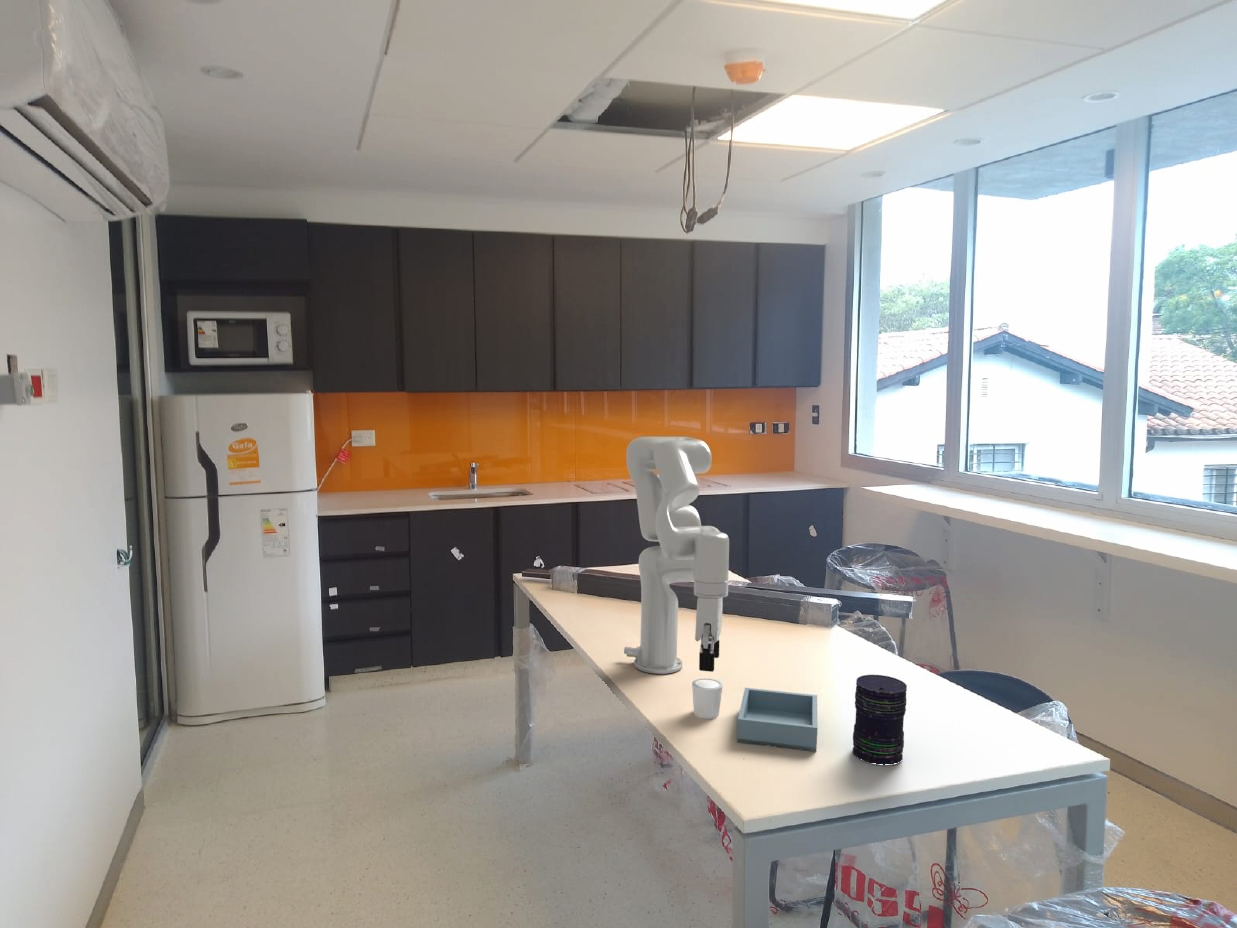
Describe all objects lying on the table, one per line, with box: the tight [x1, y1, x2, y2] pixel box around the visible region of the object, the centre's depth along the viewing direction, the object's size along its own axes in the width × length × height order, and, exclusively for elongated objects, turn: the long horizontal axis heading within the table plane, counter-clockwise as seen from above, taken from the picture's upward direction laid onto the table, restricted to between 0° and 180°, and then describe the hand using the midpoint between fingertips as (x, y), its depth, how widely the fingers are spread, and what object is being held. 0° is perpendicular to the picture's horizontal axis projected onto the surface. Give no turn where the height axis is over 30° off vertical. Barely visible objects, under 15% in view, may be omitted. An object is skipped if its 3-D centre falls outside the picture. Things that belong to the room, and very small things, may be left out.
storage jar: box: [852, 674, 908, 765], centre depth 167 cm, size 10×10×15 cm
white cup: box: [691, 678, 724, 720], centre depth 186 cm, size 7×7×7 cm
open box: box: [736, 687, 818, 752], centre depth 179 cm, size 16×18×5 cm
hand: (709, 663), depth 184 cm, fingers open, 9 cm apart
